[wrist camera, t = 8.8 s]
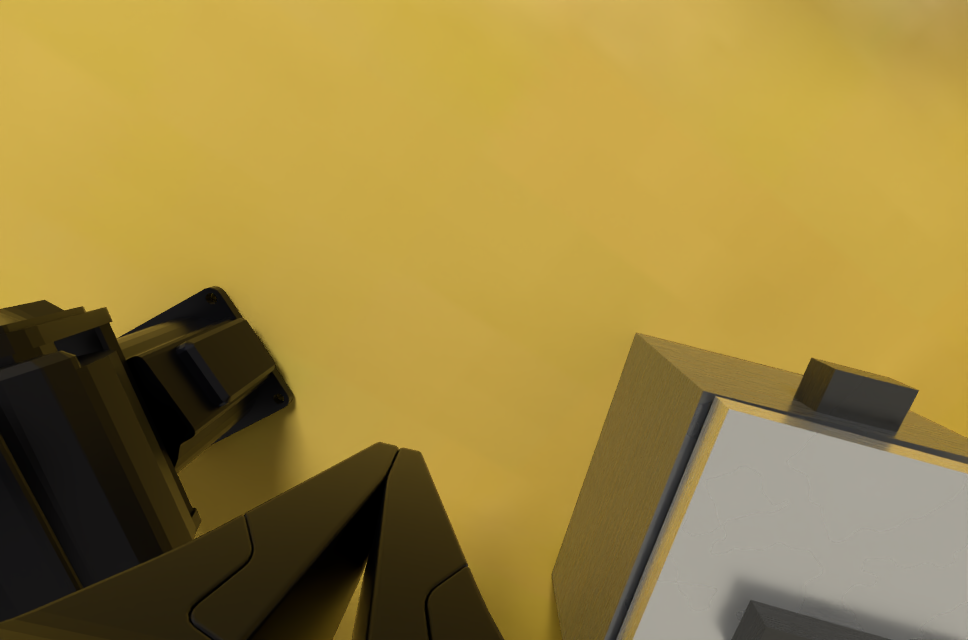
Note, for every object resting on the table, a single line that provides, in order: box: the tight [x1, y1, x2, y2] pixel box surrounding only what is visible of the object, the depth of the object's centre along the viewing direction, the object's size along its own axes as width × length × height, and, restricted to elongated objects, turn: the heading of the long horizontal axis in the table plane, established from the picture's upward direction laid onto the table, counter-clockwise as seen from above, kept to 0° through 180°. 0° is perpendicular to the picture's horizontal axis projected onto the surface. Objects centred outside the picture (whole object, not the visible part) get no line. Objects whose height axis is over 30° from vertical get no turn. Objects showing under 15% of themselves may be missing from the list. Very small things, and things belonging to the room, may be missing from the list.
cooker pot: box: [552, 333, 968, 640], centre depth 20 cm, size 12×17×7 cm
